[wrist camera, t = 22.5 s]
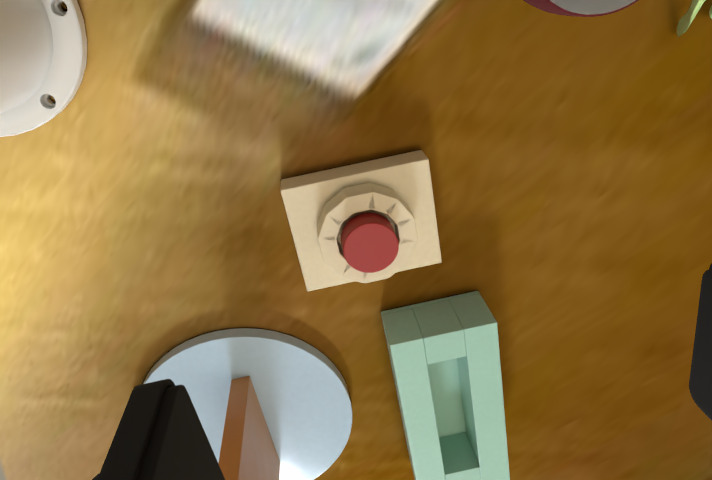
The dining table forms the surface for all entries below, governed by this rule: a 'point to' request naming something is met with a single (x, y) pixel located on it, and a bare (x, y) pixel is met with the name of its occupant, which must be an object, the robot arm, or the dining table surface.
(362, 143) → the dining table surface
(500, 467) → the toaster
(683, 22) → the figurine
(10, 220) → the dining table surface
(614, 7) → the mug
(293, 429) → the plate
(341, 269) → the control block
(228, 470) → the copper rectangular plank
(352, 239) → the stop button
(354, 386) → the dining table surface
